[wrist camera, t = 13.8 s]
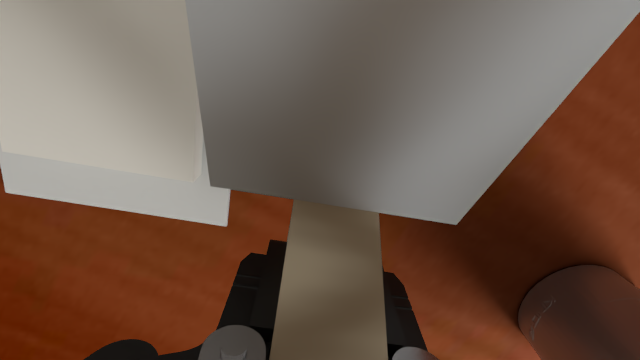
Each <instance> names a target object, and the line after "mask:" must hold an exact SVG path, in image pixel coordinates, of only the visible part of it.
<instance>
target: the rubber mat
mask: <svg viewBox="0 0 640 360" xmlns="http://www.w3.org/2000/svg"><path fill="white" fill-rule="evenodd" d="M0 166H1V171H2V176H3V181H4V186H5V192H6V193H12V194H19V195H25V196H32V197H38V198H45V199H51V200H58V201H64V202H71V203H77V204H84V205H90V206H97V207H103V208H110V209H116V210H122V211H129V212H135V213H142V214H148V215H155V216H161V217H168V218H174V219H181V220H187V221H194V222H200V223H207V224H213V225H220V226H227V224H228V213H229V201H230V189H225V188H219V187H212V186H210V180H209V173H208V165H207V158H206V150H205V143H204V136H203V147H202V167H201V175H200V176H199V177H198V178H197V179H196V180H195V181H194V182H187V181H181V180H175V179H169V178H162V177H156V176H150V175H144V174H138V173H132V172H125V171H119V170H113V169H107V168H101V167H95V166H88V165H82V164H76V163H70V162H64V161H58V160H51V159H45V158H39V157H33V156H27V155H21V154H15V153H8V152H2V148H1V143H0Z"/></svg>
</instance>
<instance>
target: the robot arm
mask: <svg viewBox="0 0 640 360" xmlns="http://www.w3.org/2000/svg"><path fill="white" fill-rule="evenodd" d="M286 247H287V242H284V241H277V240H270V242H269V246H268V251H267V255H263V254H256V253H250V254H249V255H248V256H247V257H246V258H245V259H243V260H242V261H241V263H240V266H239V268H238V271H237V275H236V277H235V280H234V282H233V286H232V288H231V291H230V294H229V297H228V299H227V302H226V305H225V308H224V311H223V313H222V316H221V319H220V322H219V325H218V327H217V329H216V331H214V332H213V333H212V334H210V335H209V336H208V337H207V339H206V340H205V341H204V343H202V344H201V345H199V346H197V347H195V348H193V349H190V350H187V351H182V352H177V353H171V354H165V355H159V356H158V353H157V351H156V350H155V348H154V347H153V346H152V345H151V344H149V343H147V342H145V341H142V340H136V339H128V340H121V341H117V342H114V343H111V344H109V345H106V346H104V347H102V348H101V349H99V350H97V351H96V352H94V353H93V354H91V355H90V356H88V357H87V358H85V359H84V360H269V356H270V350H271V344H272V338H273V332H274V326H275V319H276V313H277V306H278V299H279V293H280V286H281V280H282V273H283V266H284V260H285V253H286ZM382 273H383V289H384V304H385V320H386V336H387V351H388V360H439V359H438V358H437V357H435V356H434V355H432V354H431V353H429V352H428V351H427V348H426V345H425V342H424V340H423V337H422V334H421V332H420V329H419V326H418V323H417V321H416V318H415V315H414V312H413V311H412V307H411V304H410V302H409V300H408V296H407V293H406V291H405V288H404V285H403V284H402V283H401V282H400V280H399V279H398V278H397V277H396V276H395V275H394V273H389V272H384V269H383V266H382ZM518 322H519V327H520V329H521V331H522V333H523V334H524V336H525V337H526V339H527V340H528V341H529V343H530V344H531V346H532V347H533V348H534V350H535V351H536V353H537V354H538V355H539V357H540V358H541V360H640V289H639V288H637V287H635V286H634V285H632V284H631V283H630V282H628V281H627V280H626V279H624V278H623V277H622V276H620V275H619V274H618V273H616V272H615V271H614V270H611V269H609V268H606V267H603V266H597V265H579V266H574V267H569V268H566V269H563V270H560V271H557V272H555V273H553V274H551V275H549V276H547V277H546V278H544V279H543V280H542V281H540V282H539V283H537V284H536V285H535V286H534V287H533V288H532V289H531V290H530V291H529V292H528V294H527V295H526V297H525V298H524V300H523V301H522V303H521V306H520V309H519V313H518Z"/></svg>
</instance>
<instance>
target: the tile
mask: <svg viewBox="0 0 640 360" xmlns="http://www.w3.org/2000/svg"><path fill="white" fill-rule="evenodd" d="M0 143H1V148H2V152H8V153H15V154H21V155H27V156H33V157H39V158H45V159H51V160H58V161H64V162H70V163H76V164H82V165H88V166H95V167H101V168H107V169H113V170H119V171H125V172H132V173H138V174H144V175H150V176H156V177H162V178H169V179H175V180H181V181H187V182H194V181H195V180H196V179H197V178H198V177H199V176H200V175H201V167H202V147H203V128H202V121H201V114H200V106H199V99H198V91H197V84H196V77H195V69H194V62H193V55H192V47H191V40H190V32H189V25H188V18H187V10H186V3H185V0H0Z"/></svg>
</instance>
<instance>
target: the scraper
mask: <svg viewBox="0 0 640 360" xmlns="http://www.w3.org/2000/svg"><path fill="white" fill-rule="evenodd" d="M185 3H186V10H187V18H188V25H189V32H190V40H191V47H192V55H193V62H194V69H195V77H196V84H197V91H198V99H199V106H200V114H201V121H202V128H203V136H204V143H205V150H206V158H207V165H208V173H209V180H210V186H212V187H219V188H225V189H231V190H238V191H244V192H250V193H257V194H263V195H269V196H276V197H282V198H289V199H294V203H293V209H292V215H291V220H290V226H289V232H288V238H287V247H286V253H285V260H284V266H283V273H282V280H281V286H280V293H279V299H278V306H277V313H276V319H275V326H274V332H273V338H272V344H271V350H270V356H269V360H388V351H387V336H386V320H385V304H384V289H383V273H382V257H381V241H380V226H379V213H384V214H390V215H397V216H403V217H409V218H416V219H422V220H428V221H435V222H441V223H448V224H454V225H457V224H458V222H459V221H460V220H461V219H462V218H463V217H464V215H465V214H466V213H467V212H468V211H469V210H470V208H471V207H472V206H473V205H474V204H475V203H476V201H477V200H478V199H479V198H480V197H481V196H482V195H483V193H484V192H485V191H486V190H487V189H488V188H489V186H490V185H491V184H492V183H493V182H494V181H495V179H496V178H497V177H498V176H499V175H500V174H501V172H502V171H503V170H504V169H505V168H506V167H507V165H508V164H509V163H510V162H511V161H512V160H513V158H514V157H515V156H516V155H517V154H518V153H519V151H520V150H521V149H522V148H523V147H524V146H525V144H526V143H527V142H528V141H529V140H530V139H531V137H532V136H533V135H534V134H535V133H536V132H537V130H538V129H539V128H540V127H541V126H542V125H543V123H544V122H545V121H546V120H547V119H548V118H549V117H550V115H551V114H552V113H553V112H554V111H555V110H556V108H557V107H558V106H559V105H560V104H561V103H562V101H563V100H564V99H565V98H566V97H567V96H568V94H569V93H570V92H571V91H572V90H573V89H574V87H575V86H576V85H577V84H578V83H579V82H580V80H581V79H582V78H583V77H584V76H585V75H586V73H587V72H588V71H589V70H590V69H591V68H592V66H593V65H594V64H595V63H596V62H597V61H598V59H599V58H600V57H601V56H602V55H603V54H604V52H605V51H606V50H607V49H608V48H609V47H610V45H611V44H612V43H613V42H614V41H615V40H616V38H617V37H618V36H619V35H620V34H621V33H622V32H623V30H624V29H625V28H626V27H627V26H628V25H629V23H630V22H631V21H632V20H633V19H634V18H635V16H636V15H637V14H638V13H639V12H640V0H185Z"/></svg>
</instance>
